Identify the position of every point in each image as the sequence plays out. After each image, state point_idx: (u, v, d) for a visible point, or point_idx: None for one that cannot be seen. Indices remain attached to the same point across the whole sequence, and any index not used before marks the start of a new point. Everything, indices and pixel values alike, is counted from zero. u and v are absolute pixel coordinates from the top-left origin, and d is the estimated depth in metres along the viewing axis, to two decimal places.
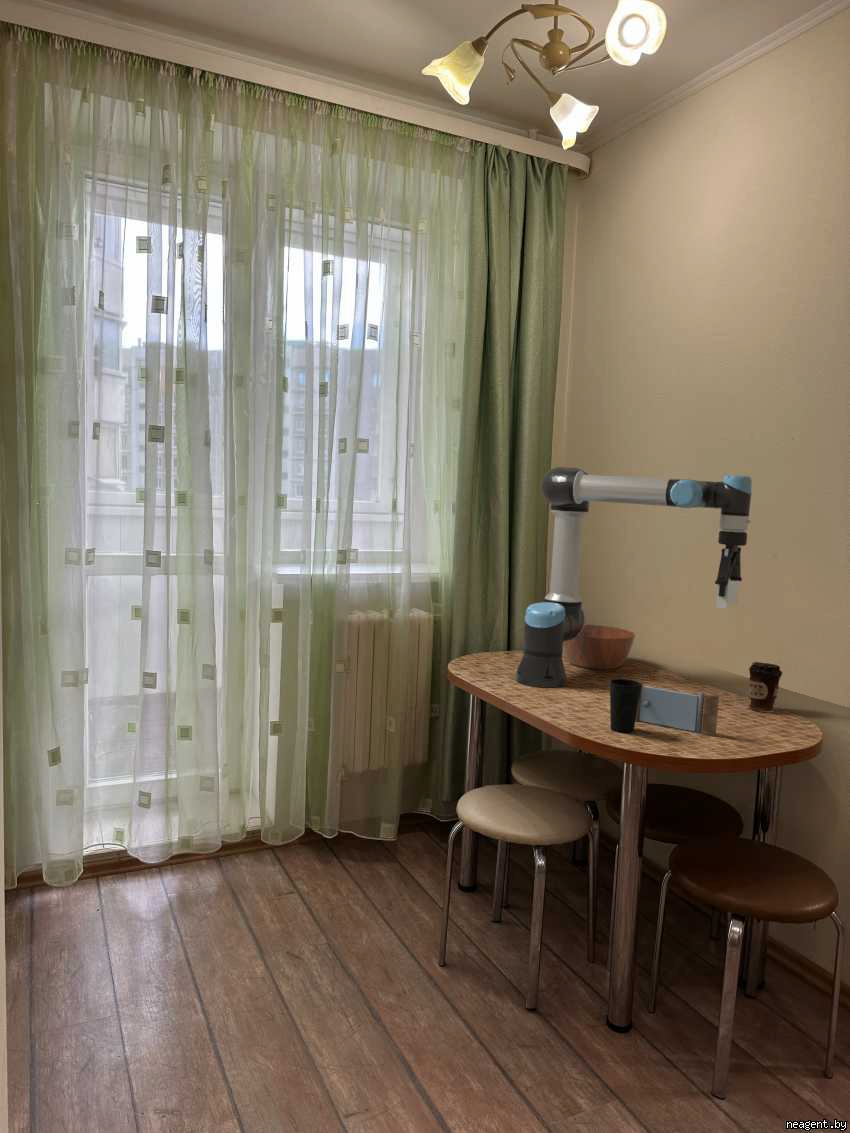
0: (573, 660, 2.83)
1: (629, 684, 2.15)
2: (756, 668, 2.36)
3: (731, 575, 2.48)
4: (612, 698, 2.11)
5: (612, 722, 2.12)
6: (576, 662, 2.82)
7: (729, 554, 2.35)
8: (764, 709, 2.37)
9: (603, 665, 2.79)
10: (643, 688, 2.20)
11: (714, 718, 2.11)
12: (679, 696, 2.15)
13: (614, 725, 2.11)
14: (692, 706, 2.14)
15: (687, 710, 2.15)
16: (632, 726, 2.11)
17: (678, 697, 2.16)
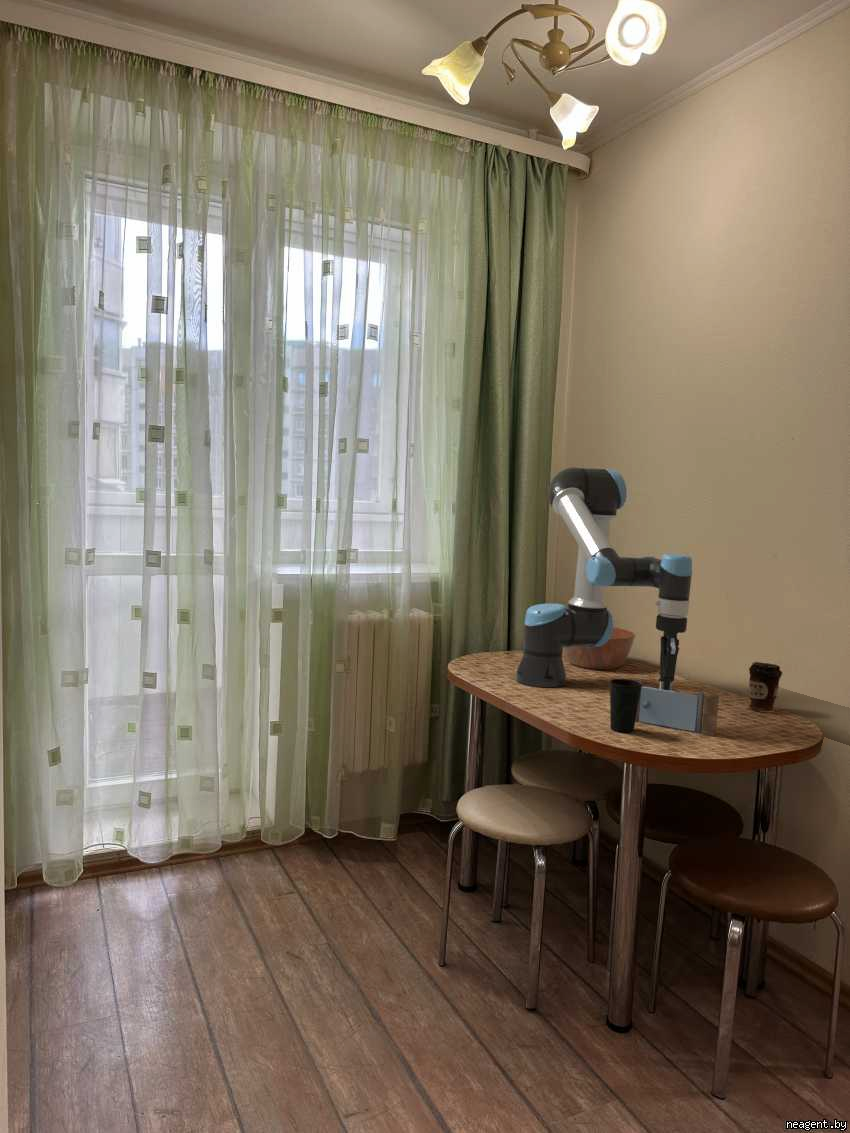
0: (573, 660, 2.83)
1: (629, 684, 2.15)
2: (756, 668, 2.36)
3: None
4: (612, 698, 2.11)
5: (612, 722, 2.12)
6: (576, 662, 2.82)
7: None
8: (764, 709, 2.37)
9: (603, 665, 2.79)
10: (643, 689, 2.19)
11: (714, 718, 2.11)
12: (679, 696, 2.15)
13: (614, 725, 2.11)
14: (692, 706, 2.14)
15: (687, 710, 2.14)
16: (632, 726, 2.11)
17: (678, 697, 2.15)
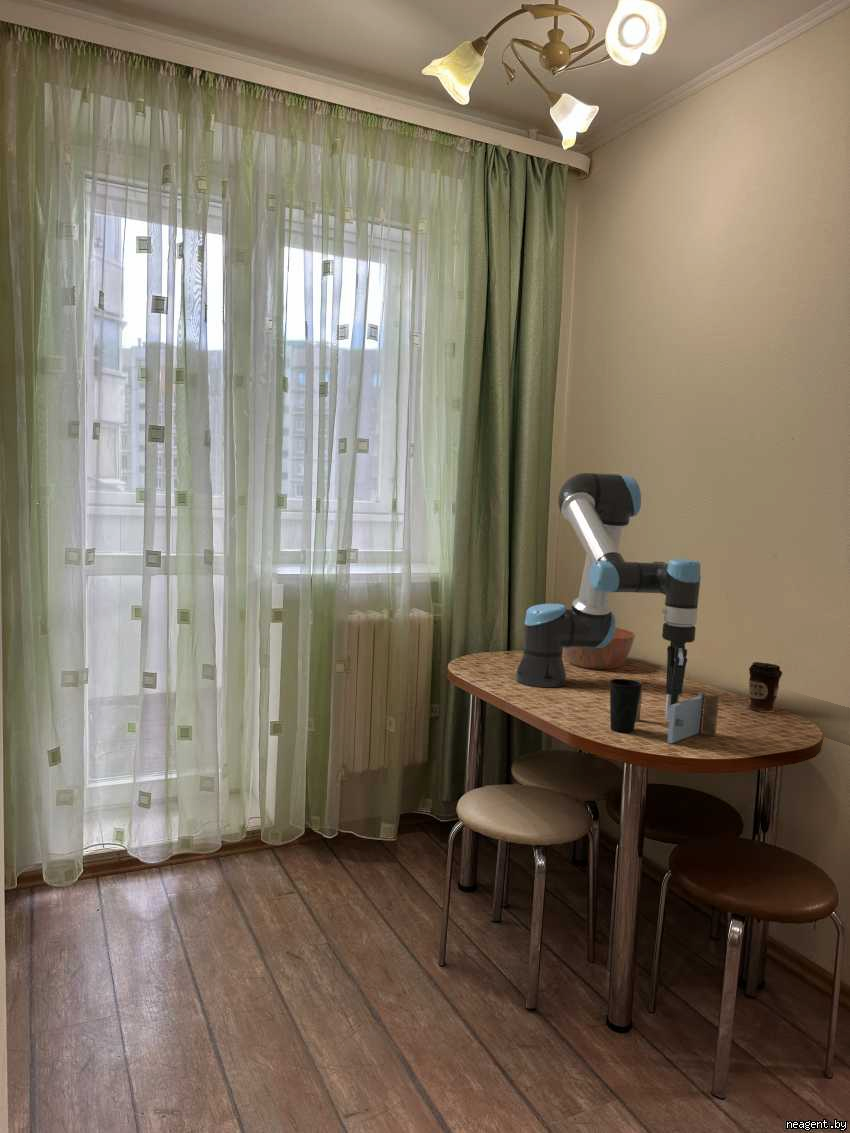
0: (573, 660, 2.83)
1: (629, 684, 2.15)
2: (756, 668, 2.36)
3: None
4: (612, 698, 2.11)
5: (612, 722, 2.12)
6: (576, 662, 2.82)
7: None
8: (764, 709, 2.37)
9: (603, 665, 2.79)
10: (675, 707, 2.02)
11: (714, 718, 2.11)
12: (693, 703, 2.09)
13: (614, 725, 2.11)
14: (699, 709, 2.12)
15: (696, 714, 2.11)
16: (632, 726, 2.11)
17: (693, 704, 2.09)
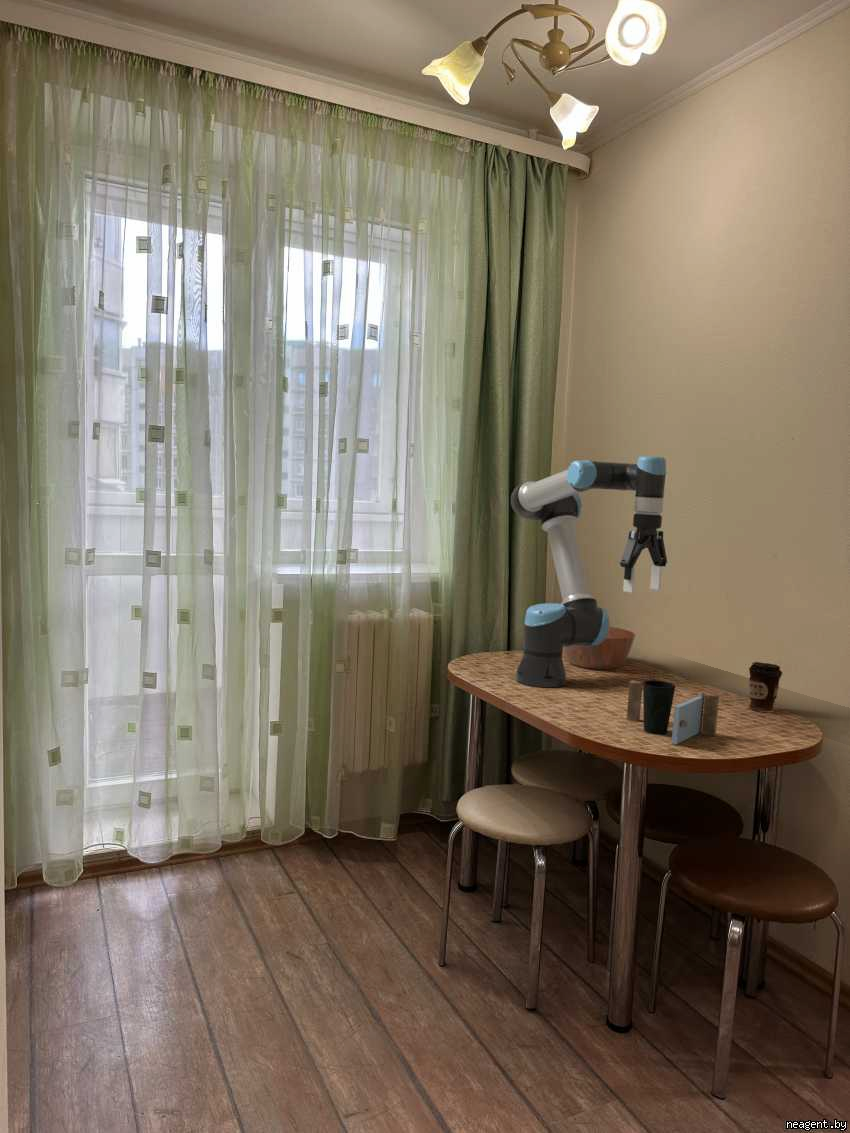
0: (573, 660, 2.83)
1: (662, 685, 2.15)
2: (756, 668, 2.36)
3: None
4: (646, 699, 2.11)
5: (645, 723, 2.12)
6: (576, 662, 2.82)
7: None
8: (764, 709, 2.37)
9: (603, 665, 2.79)
10: (680, 708, 2.02)
11: (714, 718, 2.11)
12: (695, 703, 2.09)
13: (648, 726, 2.11)
14: (700, 709, 2.12)
15: (697, 714, 2.11)
16: (666, 727, 2.11)
17: (694, 704, 2.09)
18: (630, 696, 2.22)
